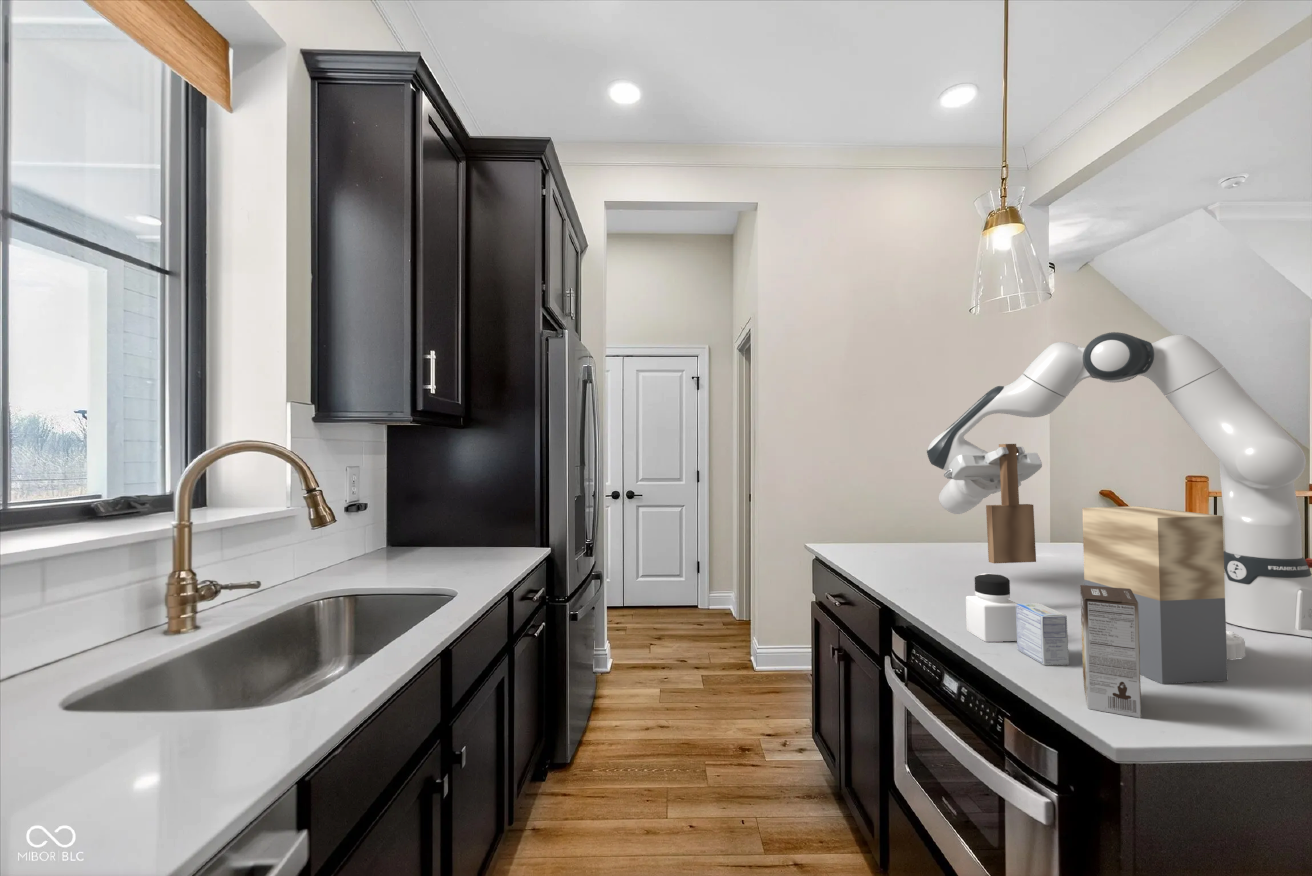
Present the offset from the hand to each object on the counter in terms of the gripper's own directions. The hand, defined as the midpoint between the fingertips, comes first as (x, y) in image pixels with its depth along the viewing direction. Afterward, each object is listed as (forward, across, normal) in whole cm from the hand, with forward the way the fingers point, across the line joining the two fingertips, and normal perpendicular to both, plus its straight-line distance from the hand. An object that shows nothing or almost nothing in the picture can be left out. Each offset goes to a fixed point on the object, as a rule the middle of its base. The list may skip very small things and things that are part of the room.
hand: (1013, 449), depth 135 cm
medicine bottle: (-4, -16, +40) cm, 43 cm away
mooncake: (+5, +16, +46) cm, 48 cm away
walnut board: (-8, 0, +9) cm, 13 cm away
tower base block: (+11, 0, +48) cm, 50 cm away
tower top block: (+18, 0, +37) cm, 41 cm away
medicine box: (+6, -16, +46) cm, 49 cm away
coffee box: (+22, -18, +55) cm, 62 cm away
